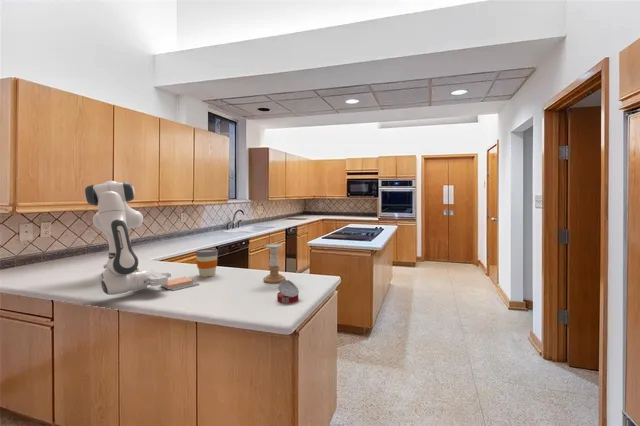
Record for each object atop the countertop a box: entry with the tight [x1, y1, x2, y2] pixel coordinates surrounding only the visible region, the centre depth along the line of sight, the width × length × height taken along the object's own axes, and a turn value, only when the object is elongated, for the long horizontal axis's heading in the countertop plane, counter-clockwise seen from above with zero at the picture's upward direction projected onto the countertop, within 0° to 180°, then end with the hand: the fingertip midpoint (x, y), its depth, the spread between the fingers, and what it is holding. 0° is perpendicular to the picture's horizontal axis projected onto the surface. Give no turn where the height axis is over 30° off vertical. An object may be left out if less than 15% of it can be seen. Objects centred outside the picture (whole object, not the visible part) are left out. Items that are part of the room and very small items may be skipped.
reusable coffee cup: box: [195, 248, 219, 278], centre depth 191 cm, size 13×13×15 cm
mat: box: [169, 281, 200, 292], centre depth 171 cm, size 16×14×1 cm
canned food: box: [276, 279, 300, 304], centre depth 147 cm, size 11×10×10 cm
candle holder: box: [262, 243, 286, 284], centre depth 179 cm, size 12×12×20 cm
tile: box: [160, 276, 194, 290], centre depth 170 cm, size 10×2×13 cm
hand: (169, 274), depth 167 cm, fingers closed
